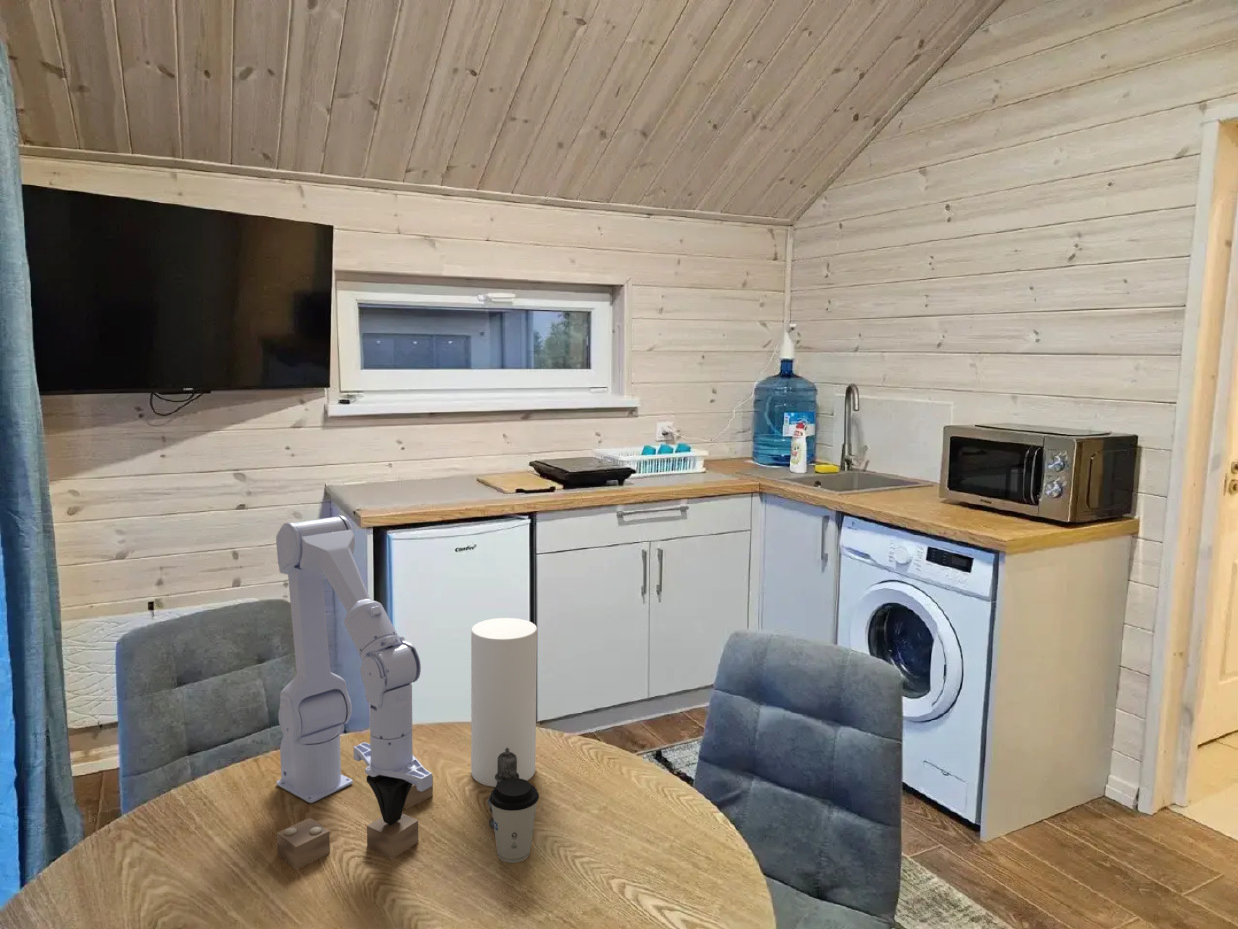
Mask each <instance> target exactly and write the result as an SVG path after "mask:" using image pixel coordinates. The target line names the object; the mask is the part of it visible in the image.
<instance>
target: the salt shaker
mask: <svg viewBox="0 0 1238 929" xmlns="http://www.w3.org/2000/svg"><path fill="white" fill-rule="evenodd" d="M505 751H506V752H503V753H501V754H500V755H499V756H498V761H497V774H496V775H495V779H496V781H497V783H498V782H500V781H501V780H505V779H513V778H519V774H518V773H517V757H516V755H515V754H514V753H512V752H509V748H508V747H507V748H506V749H505ZM486 803H487V804H486V805H487V807H488V808H489V811H490V814H491V816H492V817H491V818H489V820H488V826H489V828H490V829H491V830H493V831H495V830H494V822H493V814H492V806H491V802H490V801H489V797H488V798H487V800H486Z"/></svg>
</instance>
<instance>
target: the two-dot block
mask: <svg viewBox="0 0 1238 929" xmlns="http://www.w3.org/2000/svg"><path fill="white" fill-rule="evenodd" d="M330 841H331V840H330V830H329V829H327V828H325V827H324V826H323V825H321V824H320V823H318V822H316V821H315V820H314V819H313V818H311V817H308V818H306V819H304V820H302V821H299V822H297V823H295V824H293V825H291V826H289V827H286V828H284V829H282V830H280V831H278V832H276V843H277V845H276V847H277V853H276V854H277V856H278V857H280V859H282V860H283V861H284V862H286V863H287V864H289V865H290V866H292V867H293V869H295V870H296V871H297V870H299V869H300V868H303V867H305V866H307V865H309V864H312V863H313V862H315V861H317V860H319V859H321V858H323V857H325V856H327V855H329V854H330V853H331V850H330V849H331V848H330V847H331V846H330V844H331V842H330Z"/></svg>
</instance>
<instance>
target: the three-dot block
mask: <svg viewBox="0 0 1238 929" xmlns="http://www.w3.org/2000/svg"><path fill="white" fill-rule="evenodd" d="M433 786H434V775H432V786H431V787H429V788H428V789H426V790H424V791H422V792H421V791H419V790H417V786H416V785H414V784H413V785H412V787H411V789H410V791H409V793H408V795H407V798H406V801H405V804H404V808H405V809H406V810H407V809H409V808H411V807H414V806H415V805H418V804H419V803H421V802H424V801H425V800H428V799H429V798H431V797H433V796H434V792H433V791H434V790H433V789H434V787H433Z"/></svg>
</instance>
